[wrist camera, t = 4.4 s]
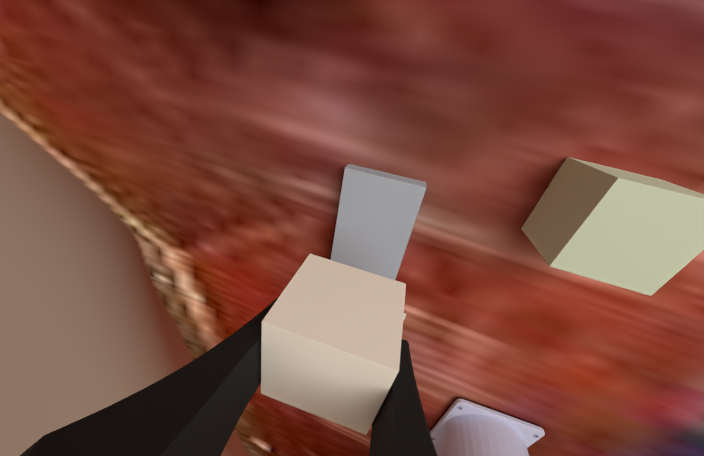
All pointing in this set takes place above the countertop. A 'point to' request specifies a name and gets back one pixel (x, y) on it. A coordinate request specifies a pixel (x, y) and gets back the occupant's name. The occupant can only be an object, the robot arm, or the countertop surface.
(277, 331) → the brick
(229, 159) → the countertop surface
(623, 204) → the pale green cube
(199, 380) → the robot arm
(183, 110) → the countertop surface
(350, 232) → the base brick
